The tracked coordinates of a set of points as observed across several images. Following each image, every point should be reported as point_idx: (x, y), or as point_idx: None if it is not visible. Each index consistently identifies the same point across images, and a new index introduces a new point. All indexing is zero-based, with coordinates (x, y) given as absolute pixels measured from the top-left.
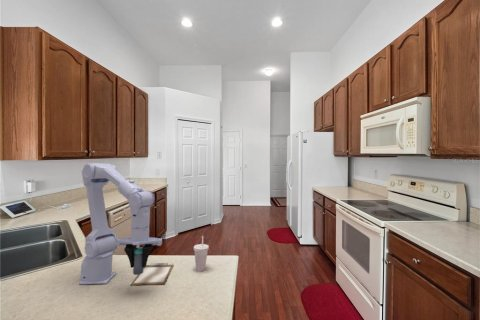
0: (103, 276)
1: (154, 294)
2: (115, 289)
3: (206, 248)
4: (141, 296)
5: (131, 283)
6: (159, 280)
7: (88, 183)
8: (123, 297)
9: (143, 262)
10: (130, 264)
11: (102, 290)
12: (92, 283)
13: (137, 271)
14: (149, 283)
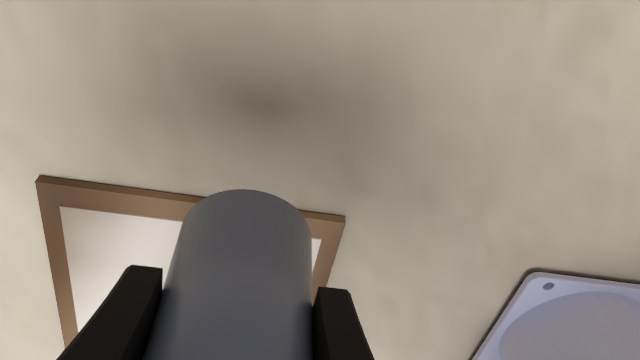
0: (568, 326)
1: (80, 33)
2: (458, 189)
3: None
4: (207, 27)
5: (340, 235)
6: (105, 233)
7: None
8: (379, 51)
9: (112, 334)
10: (359, 330)
11: (556, 195)
12: (625, 284)
13: (240, 221)
14: (184, 208)
